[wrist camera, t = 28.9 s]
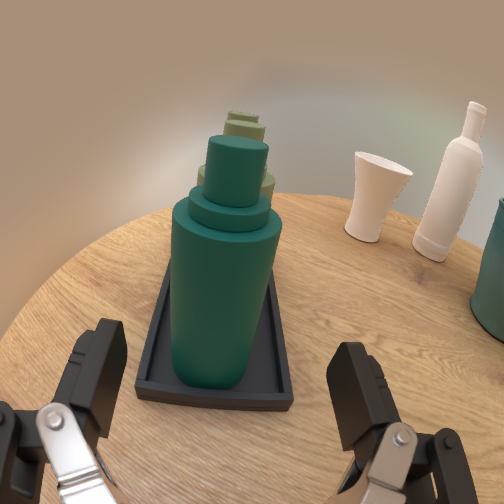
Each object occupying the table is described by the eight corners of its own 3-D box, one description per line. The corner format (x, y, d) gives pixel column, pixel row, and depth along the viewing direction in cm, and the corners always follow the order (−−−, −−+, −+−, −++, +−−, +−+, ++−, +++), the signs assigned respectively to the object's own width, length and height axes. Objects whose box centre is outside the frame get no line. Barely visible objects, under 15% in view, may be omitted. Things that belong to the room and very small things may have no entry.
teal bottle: (160, 378, 21) (156, 142, 12) (185, 327, 26) (201, 125, 17) (237, 401, 20) (297, 167, 11) (251, 344, 25) (300, 144, 17)
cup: (372, 255, 45) (401, 175, 38) (322, 225, 51) (343, 150, 44) (395, 241, 51) (420, 174, 44) (351, 216, 57) (371, 152, 50)
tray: (287, 411, 21) (294, 400, 20) (137, 398, 19) (134, 386, 18) (264, 250, 40) (267, 238, 39) (179, 240, 39) (180, 228, 38)
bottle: (451, 263, 48) (504, 118, 33) (426, 261, 47) (482, 101, 31) (429, 241, 55) (474, 108, 39) (404, 238, 53) (450, 92, 38)
